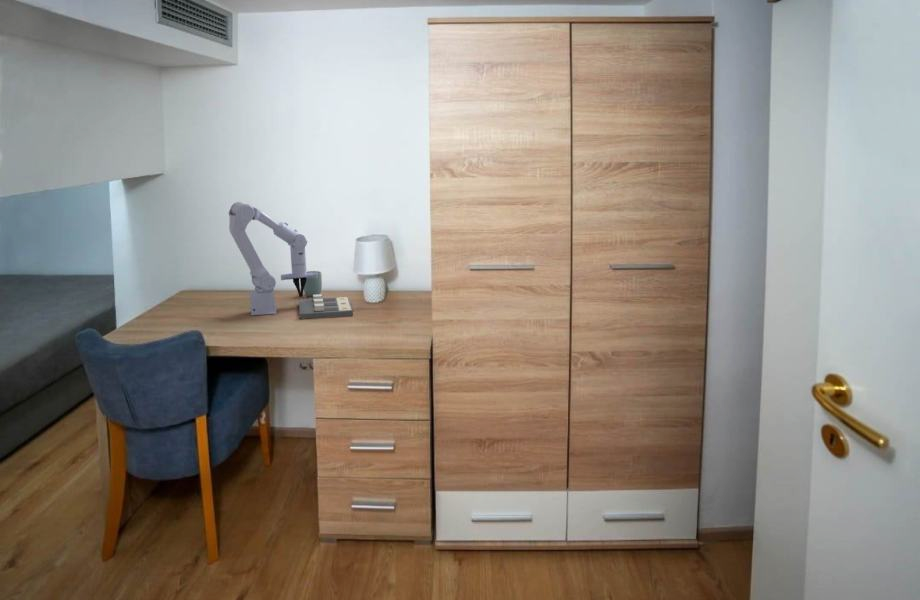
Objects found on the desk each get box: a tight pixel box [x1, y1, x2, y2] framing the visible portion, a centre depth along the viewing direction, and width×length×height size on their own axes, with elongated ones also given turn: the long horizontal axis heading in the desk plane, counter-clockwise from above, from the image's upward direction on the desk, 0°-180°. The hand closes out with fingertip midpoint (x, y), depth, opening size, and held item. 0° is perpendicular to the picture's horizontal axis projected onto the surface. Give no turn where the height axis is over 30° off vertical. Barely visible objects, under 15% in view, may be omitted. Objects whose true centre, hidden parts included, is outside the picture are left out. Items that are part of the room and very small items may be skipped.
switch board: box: [298, 296, 354, 320], centre depth 321 cm, size 20×24×2 cm
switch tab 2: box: [314, 299, 323, 304], centre depth 320 cm, size 4×4×2 cm
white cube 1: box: [314, 303, 324, 311], centre depth 312 cm, size 4×4×2 cm
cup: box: [303, 270, 323, 298], centre depth 344 cm, size 8×8×10 cm
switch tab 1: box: [312, 293, 323, 300], centre depth 327 cm, size 4×4×2 cm
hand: (300, 296), depth 326 cm, fingers closed
